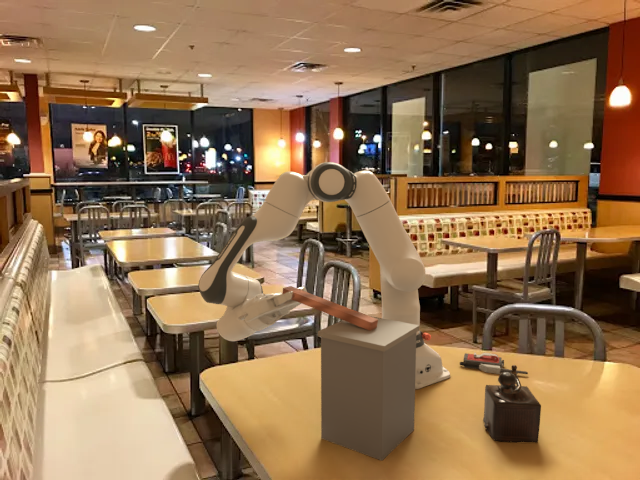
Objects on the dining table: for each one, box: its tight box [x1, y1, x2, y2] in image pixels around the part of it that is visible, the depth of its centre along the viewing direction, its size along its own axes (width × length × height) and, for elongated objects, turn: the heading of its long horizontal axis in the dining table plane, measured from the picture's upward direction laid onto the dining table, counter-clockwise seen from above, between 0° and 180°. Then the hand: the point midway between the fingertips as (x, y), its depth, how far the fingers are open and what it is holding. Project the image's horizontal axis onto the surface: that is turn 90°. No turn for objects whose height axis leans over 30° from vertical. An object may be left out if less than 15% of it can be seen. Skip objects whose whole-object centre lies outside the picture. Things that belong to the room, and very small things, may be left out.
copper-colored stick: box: [281, 285, 378, 331], centre depth 126 cm, size 26×3×2 cm, turn 55°
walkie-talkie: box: [459, 352, 529, 375], centre depth 163 cm, size 9×4×20 cm
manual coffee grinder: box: [482, 364, 542, 443], centre depth 121 cm, size 16×11×18 cm
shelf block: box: [317, 315, 420, 461], centre depth 122 cm, size 17×17×26 cm
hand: (297, 292), depth 131 cm, fingers closed on copper-colored stick, 3 cm apart
